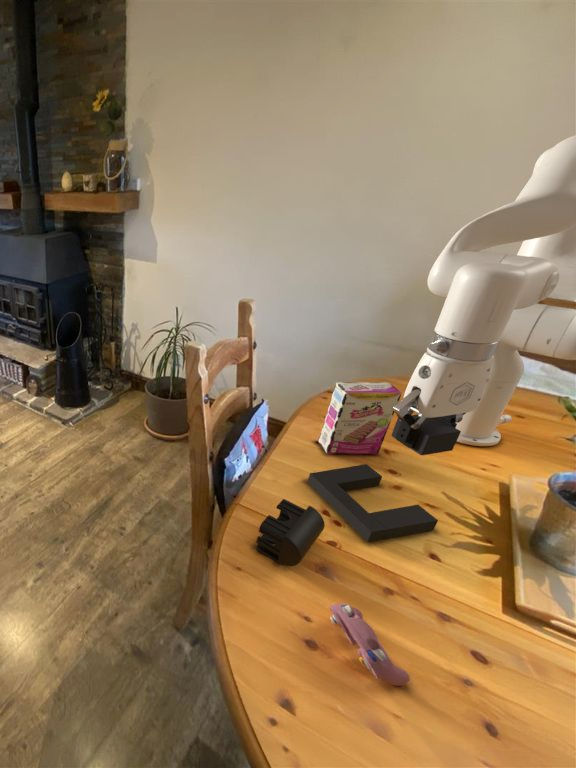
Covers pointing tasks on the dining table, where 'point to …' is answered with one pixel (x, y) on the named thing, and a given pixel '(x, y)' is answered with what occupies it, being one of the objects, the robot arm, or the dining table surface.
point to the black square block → (433, 436)
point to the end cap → (289, 533)
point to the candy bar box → (358, 417)
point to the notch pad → (364, 523)
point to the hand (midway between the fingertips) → (421, 440)
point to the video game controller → (367, 644)
